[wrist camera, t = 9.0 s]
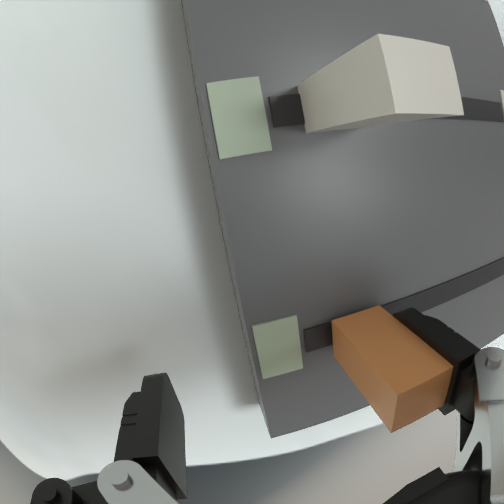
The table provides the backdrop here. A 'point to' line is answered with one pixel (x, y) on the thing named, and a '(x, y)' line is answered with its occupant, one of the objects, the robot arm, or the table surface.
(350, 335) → the block
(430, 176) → the panel
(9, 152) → the table surface
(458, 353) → the robot arm
